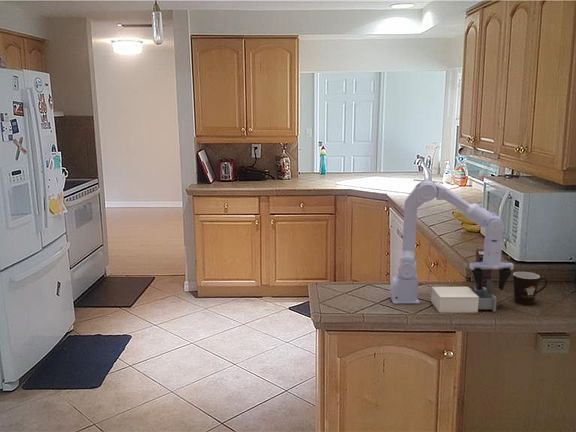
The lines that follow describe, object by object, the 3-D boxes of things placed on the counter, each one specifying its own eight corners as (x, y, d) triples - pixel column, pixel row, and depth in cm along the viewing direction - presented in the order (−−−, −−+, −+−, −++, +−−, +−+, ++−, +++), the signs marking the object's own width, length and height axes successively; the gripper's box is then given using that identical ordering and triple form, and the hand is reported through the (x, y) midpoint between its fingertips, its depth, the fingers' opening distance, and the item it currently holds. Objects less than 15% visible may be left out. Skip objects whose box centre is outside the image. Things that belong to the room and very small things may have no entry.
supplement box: (490, 296, 201) (492, 255, 198) (476, 296, 202) (478, 254, 199) (486, 289, 209) (489, 249, 206) (473, 288, 210) (475, 248, 207)
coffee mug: (511, 304, 192) (513, 277, 191) (510, 297, 200) (512, 270, 199) (547, 308, 189) (550, 280, 187) (545, 300, 196) (547, 273, 195)
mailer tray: (457, 311, 185) (458, 286, 183) (447, 300, 196) (449, 276, 194) (495, 311, 185) (497, 286, 183) (484, 300, 196) (485, 276, 194)
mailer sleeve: (439, 312, 185) (440, 297, 184) (431, 301, 196) (431, 286, 195) (477, 312, 185) (478, 297, 184) (467, 301, 196) (468, 286, 195)
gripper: (475, 254, 183) (472, 292, 185) (518, 254, 183) (515, 292, 185) (468, 249, 190) (466, 286, 192) (510, 248, 190) (507, 286, 192)
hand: (489, 289), depth 189 cm, fingers open, 7 cm apart
